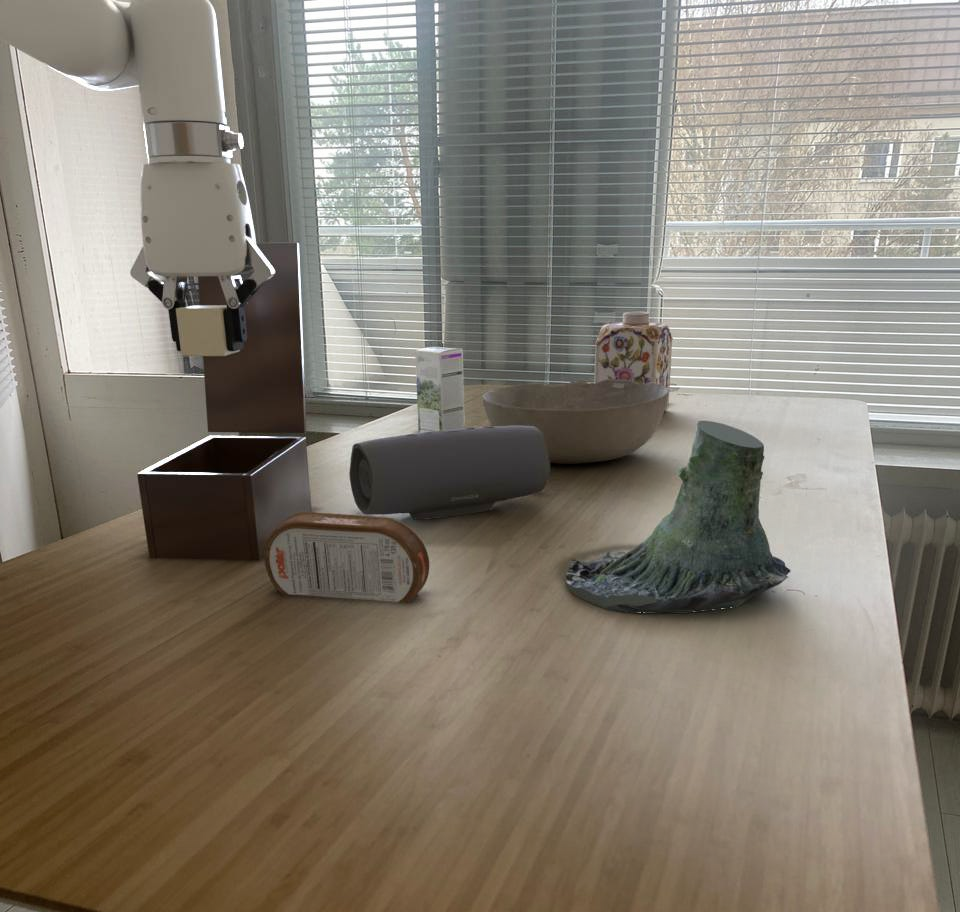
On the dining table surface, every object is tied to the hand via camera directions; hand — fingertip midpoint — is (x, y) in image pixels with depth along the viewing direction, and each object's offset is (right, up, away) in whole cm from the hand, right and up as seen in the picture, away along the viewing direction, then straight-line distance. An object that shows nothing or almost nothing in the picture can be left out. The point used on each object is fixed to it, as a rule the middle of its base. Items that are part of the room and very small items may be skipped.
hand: (210, 347), depth 98 cm
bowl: (+41, -2, +50) cm, 65 cm away
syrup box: (+21, +4, +63) cm, 67 cm away
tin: (+15, -27, -9) cm, 32 cm away
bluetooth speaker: (+24, -14, +20) cm, 34 cm away
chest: (0, -19, +10) cm, 21 cm away
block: (0, -1, 0) cm, 1 cm away
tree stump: (+46, -25, -5) cm, 52 cm away
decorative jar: (+56, +13, +85) cm, 102 cm away
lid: (+1, +4, +12) cm, 13 cm away
